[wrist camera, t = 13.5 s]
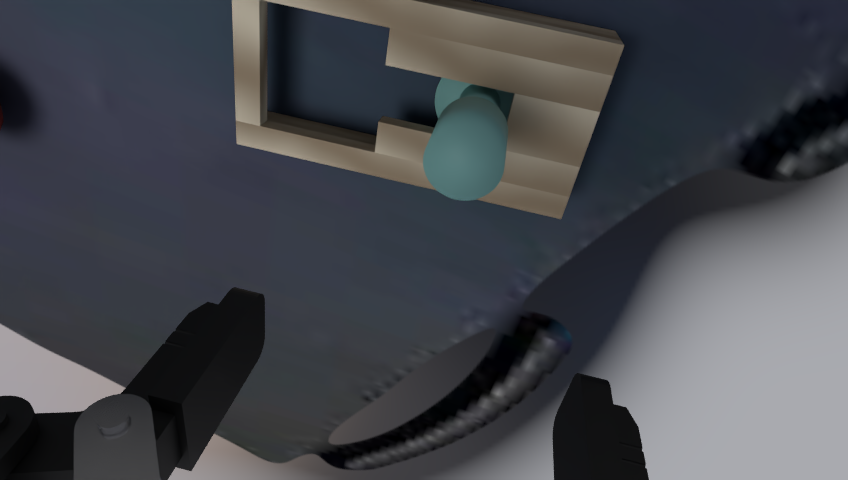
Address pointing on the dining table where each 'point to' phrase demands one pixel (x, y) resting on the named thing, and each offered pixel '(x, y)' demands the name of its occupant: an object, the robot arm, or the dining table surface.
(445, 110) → the peg
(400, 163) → the keyhole plate
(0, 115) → the red pomegranate
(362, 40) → the dining table surface
